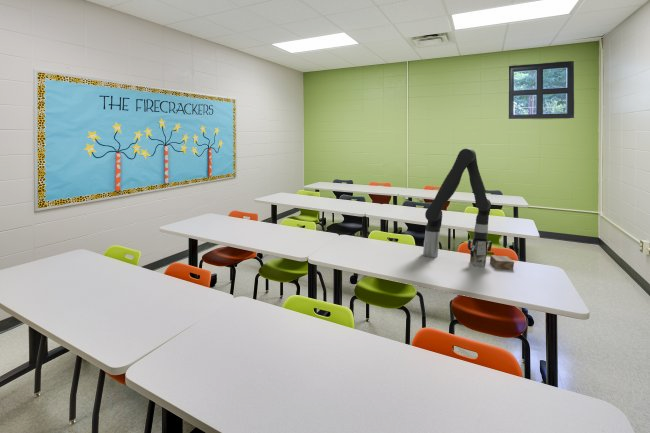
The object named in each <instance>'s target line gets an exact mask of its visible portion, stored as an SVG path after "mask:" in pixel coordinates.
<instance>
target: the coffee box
mask: <svg viewBox="0 0 650 433" xmlns="http://www.w3.org/2000/svg"><path fill="white" fill-rule="evenodd" d="M473 239H474V237H471V240H473ZM472 246H475V248H474V250H473V251H474V252H473V257H472V256H471V255H470V258H469V259H470V260H469V263H470V264H472V265H473V266H474V267H486V262H487V257H486V255H487V256H488V252H487V249H488V240H487V241H486V240H475V244H474V243H473V242H472V243H471V247H472Z"/></svg>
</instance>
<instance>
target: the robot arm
mask: <svg viewBox="0 0 650 433" xmlns="http://www.w3.org/2000/svg"><path fill="white" fill-rule="evenodd" d="M466 169H467V172H468V176H469V178H468V179H469V183H470V188H471V191H472V193H473V196H474V201H475V202H474V203H475V205H476V208H477V210H478V212H477V215H476V217H475V224H474V231H473V238H474V239H473V240H472V239H467V249H468V250H469V251H470V252H469V254H470V255H469V256H470V257H471V256H472V257H473V252H474V251H473V250H474V248H475V246H472V242H473V243H474V244H475V240H486V241H488V232H489V220H490V219H489V216H490V212H491V208H492V203H491V201H490V199H488V197H487V194H486V187H485V184H484V181H483V179H482V175H481V173H480V169H479V165H478V160H477V153H476V151H475V150H474V149H472V148H468V147H467V148H463V149H461V150H460V151H458V154H457V156H456V159H455V161H454V162H453V165H452V167H451V168H450V170H449V171H448V174H447V175H446V176H445V178H444V180H443V181H442V183H441V186H440V187H439V189H438V191H437V193H436V195H435V197H434V199H433V201H432V202H431V203H430V205H429V206H428V208H427V209H426V211H425V214H424V215H425V216H424V217H425V219H426V220H427V223H426V226H425V233H424V240H423V249H422V250H423V251H422V254H423V256H424V257H428V258H437V257H438V255H439V247H440V246H439V243H440V233H441V227H442V221H443V208H444V206H445V204H446V203H447V202H448V201H449V200H450V199H451V198H452V196H453V195H454V194H455V192H456V190H457V189H458V187H459V185H460V183H461V180H462V176H463V173H464V172H465V170H466ZM471 246H472V247H471ZM492 246H493V242H492V241H491V240H489V241H488V246H487V253H488V252H491V250H492V248H493V247H492ZM487 256H488V254H487V255H486V258H487Z"/></svg>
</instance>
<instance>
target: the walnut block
mask: <svg viewBox="0 0 650 433" xmlns="http://www.w3.org/2000/svg"><path fill="white" fill-rule="evenodd" d="M489 264H491V265H492V267H493V268H495V269H497V270H509V271H510V270H511V271H514V267H515V266H514V265H515V261H513V260H512V259H511V258H510V257H509V256H508V255H506V256H505V255H494V254H491V255H490V259H489Z"/></svg>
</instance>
